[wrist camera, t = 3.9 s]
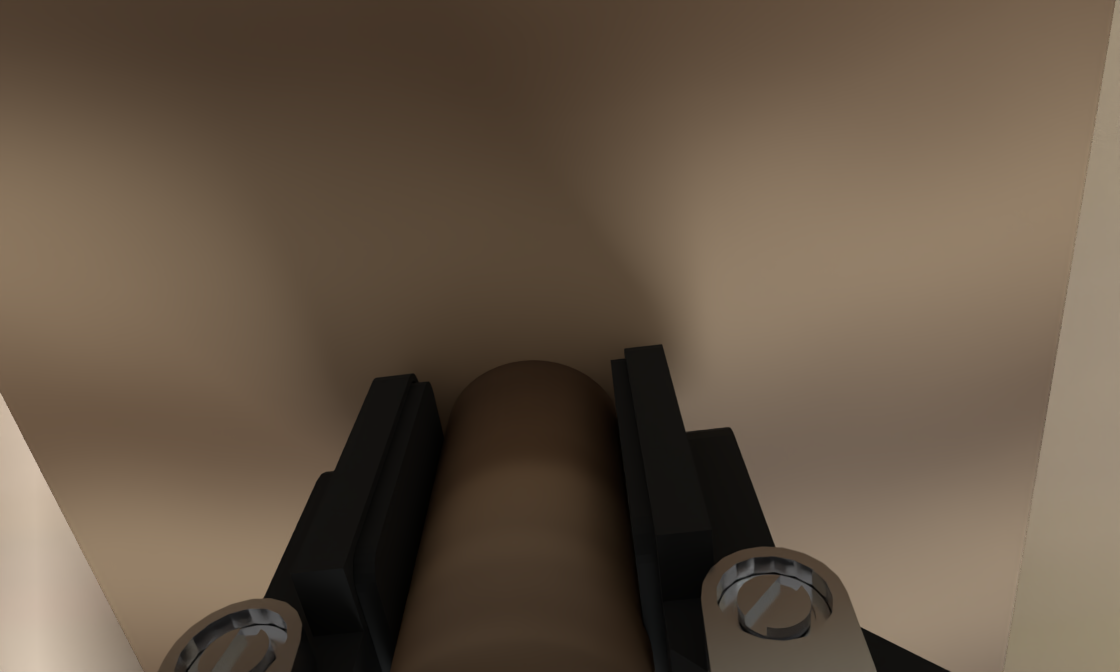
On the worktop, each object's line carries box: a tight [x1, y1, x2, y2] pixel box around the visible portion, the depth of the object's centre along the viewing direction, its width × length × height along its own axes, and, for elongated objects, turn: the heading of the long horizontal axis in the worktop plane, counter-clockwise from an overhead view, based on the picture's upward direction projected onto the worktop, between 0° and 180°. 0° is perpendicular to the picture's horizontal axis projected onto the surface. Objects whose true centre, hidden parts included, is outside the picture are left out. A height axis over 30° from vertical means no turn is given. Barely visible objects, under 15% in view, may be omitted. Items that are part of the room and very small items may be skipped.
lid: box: [0, 0, 1115, 672], centre depth 10 cm, size 15×15×6 cm
